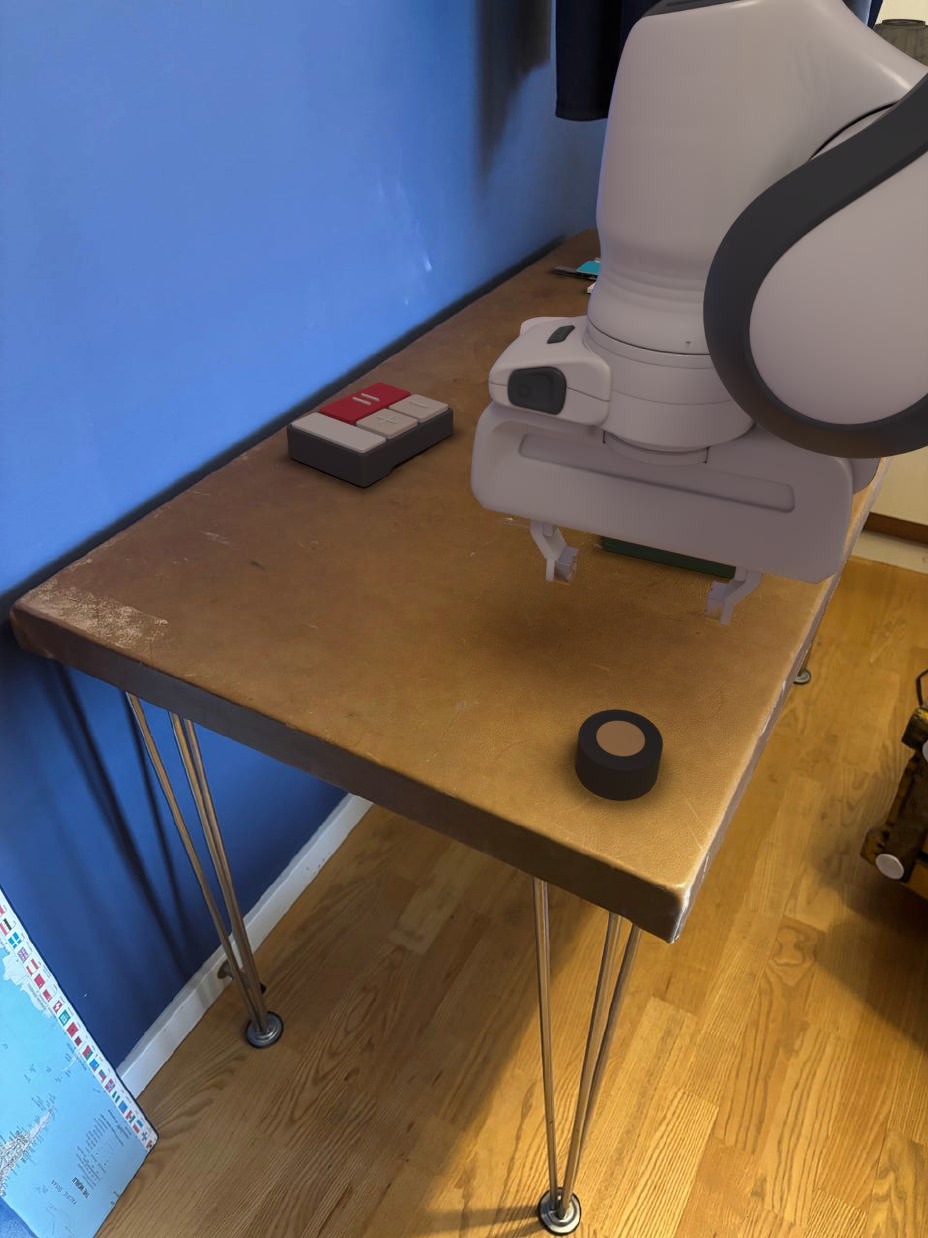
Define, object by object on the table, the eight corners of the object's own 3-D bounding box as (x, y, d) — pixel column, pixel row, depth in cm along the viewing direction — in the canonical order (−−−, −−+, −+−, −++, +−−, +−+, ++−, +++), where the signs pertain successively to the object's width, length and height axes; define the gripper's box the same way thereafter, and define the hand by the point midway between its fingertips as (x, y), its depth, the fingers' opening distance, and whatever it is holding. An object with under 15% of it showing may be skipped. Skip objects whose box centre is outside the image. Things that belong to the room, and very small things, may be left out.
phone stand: (537, 284, 139) (537, 273, 138) (569, 261, 147) (570, 251, 146) (662, 306, 131) (664, 294, 130) (689, 281, 139) (690, 270, 138)
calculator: (455, 402, 99) (362, 449, 89) (454, 438, 101) (364, 488, 92) (379, 377, 104) (283, 419, 94) (380, 412, 107) (287, 457, 97)
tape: (665, 752, 64) (671, 721, 62) (646, 811, 60) (651, 779, 58) (588, 730, 66) (592, 699, 64) (564, 785, 62) (567, 754, 60)
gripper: (899, 386, 44) (826, 609, 53) (504, 322, 50) (497, 531, 59) (891, 444, 39) (813, 677, 48) (459, 366, 46) (459, 586, 54)
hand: (637, 596), depth 54 cm, fingers open, 8 cm apart
